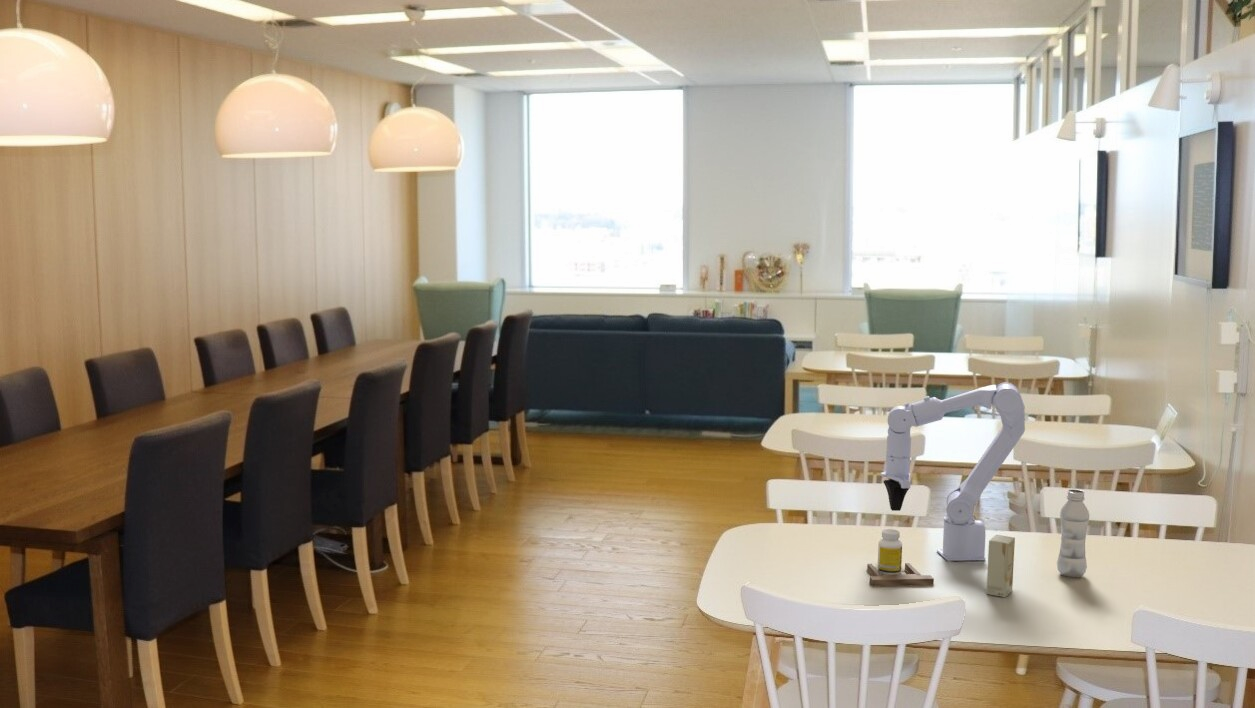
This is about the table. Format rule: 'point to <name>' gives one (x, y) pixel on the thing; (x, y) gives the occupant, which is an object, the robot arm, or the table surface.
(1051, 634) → the table surface
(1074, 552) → the plastic bottle
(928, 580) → the wooden bracket frame
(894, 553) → the supplement bottle
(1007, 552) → the skincare box
